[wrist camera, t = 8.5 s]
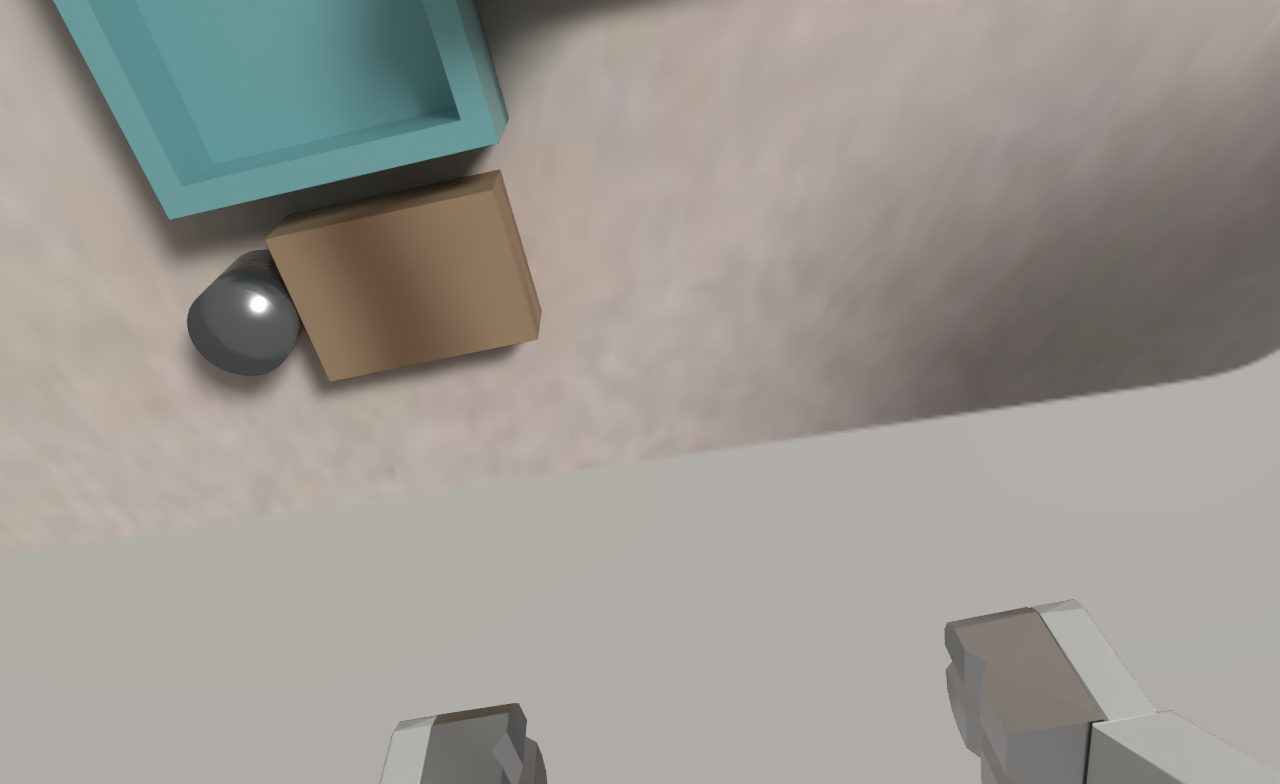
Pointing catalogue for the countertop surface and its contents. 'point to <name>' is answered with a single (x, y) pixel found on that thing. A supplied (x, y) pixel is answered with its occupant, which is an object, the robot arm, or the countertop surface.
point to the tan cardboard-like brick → (409, 276)
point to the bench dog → (246, 317)
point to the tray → (286, 89)
